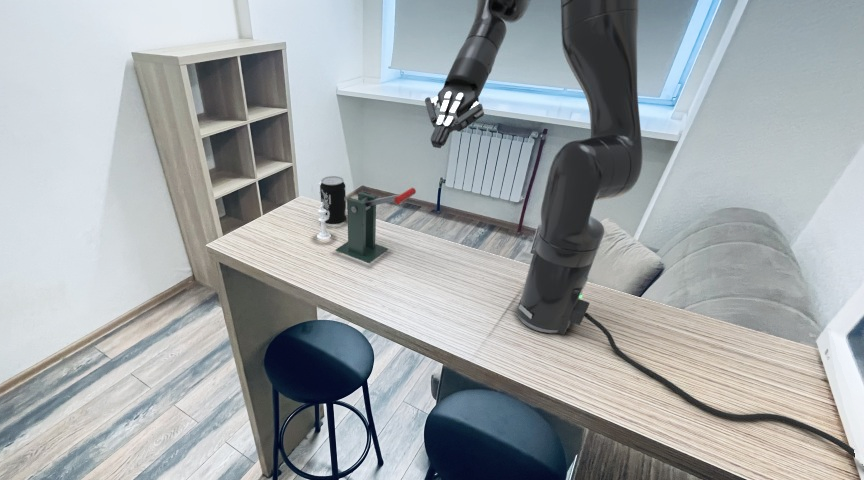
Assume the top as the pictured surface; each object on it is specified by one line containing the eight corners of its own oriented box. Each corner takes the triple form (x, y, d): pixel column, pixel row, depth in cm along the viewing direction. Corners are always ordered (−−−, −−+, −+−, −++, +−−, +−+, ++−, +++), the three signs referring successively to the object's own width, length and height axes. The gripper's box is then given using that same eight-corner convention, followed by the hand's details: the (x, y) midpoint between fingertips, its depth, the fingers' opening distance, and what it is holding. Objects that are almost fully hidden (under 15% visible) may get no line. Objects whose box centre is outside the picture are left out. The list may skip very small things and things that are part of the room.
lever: (417, 196, 84) (414, 184, 83) (402, 205, 80) (398, 194, 79) (366, 206, 94) (363, 196, 93) (350, 215, 90) (347, 205, 89)
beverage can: (345, 227, 109) (344, 184, 102) (321, 227, 109) (318, 184, 102) (346, 216, 114) (345, 175, 107) (323, 217, 114) (320, 175, 107)
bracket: (388, 252, 98) (390, 196, 90) (369, 267, 93) (369, 209, 84) (355, 240, 103) (354, 186, 95) (335, 254, 98) (332, 198, 90)
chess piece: (311, 242, 103) (308, 205, 97) (318, 233, 106) (315, 197, 101) (329, 245, 101) (327, 207, 96) (336, 235, 105) (334, 199, 99)
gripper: (436, 53, 82) (401, 130, 82) (500, 57, 76) (462, 140, 75) (445, 79, 89) (412, 150, 88) (505, 84, 82) (470, 161, 81)
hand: (435, 145), depth 81 cm, fingers closed
